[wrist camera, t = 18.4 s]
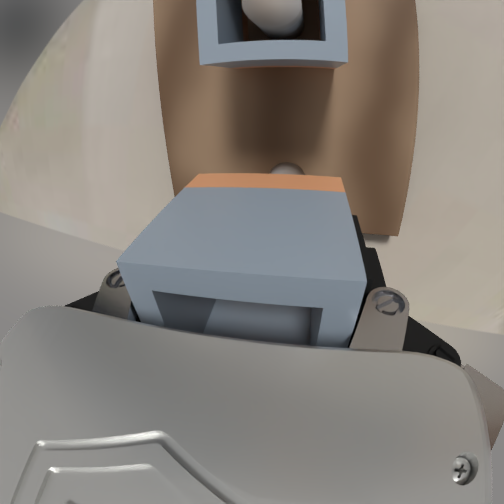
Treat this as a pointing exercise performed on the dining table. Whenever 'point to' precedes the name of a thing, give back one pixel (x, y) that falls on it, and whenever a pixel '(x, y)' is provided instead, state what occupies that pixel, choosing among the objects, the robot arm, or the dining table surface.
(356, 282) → the sleeve
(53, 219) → the dining table surface
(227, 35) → the sleeve
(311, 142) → the pin board
